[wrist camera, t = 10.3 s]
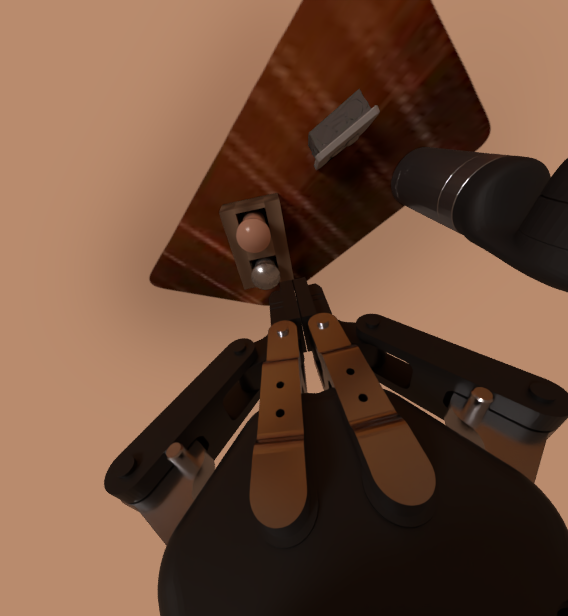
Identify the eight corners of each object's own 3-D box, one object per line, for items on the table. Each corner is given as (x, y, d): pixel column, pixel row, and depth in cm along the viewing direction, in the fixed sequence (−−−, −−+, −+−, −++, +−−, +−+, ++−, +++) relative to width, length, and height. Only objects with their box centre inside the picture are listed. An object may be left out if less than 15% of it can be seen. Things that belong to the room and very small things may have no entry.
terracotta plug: (265, 203, 42) (266, 215, 35) (271, 232, 45) (273, 249, 39) (235, 209, 42) (231, 223, 36) (243, 238, 45) (241, 255, 39)
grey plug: (274, 244, 49) (277, 261, 42) (279, 267, 52) (282, 286, 45) (249, 250, 49) (247, 267, 43) (255, 272, 52) (255, 292, 46)
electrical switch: (315, 170, 42) (325, 173, 34) (298, 141, 40) (304, 137, 32) (364, 130, 39) (387, 123, 31) (349, 96, 37) (369, 79, 29)
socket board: (277, 192, 43) (279, 199, 39) (291, 267, 52) (293, 279, 48) (222, 204, 44) (218, 212, 40) (245, 277, 53) (244, 289, 49)
